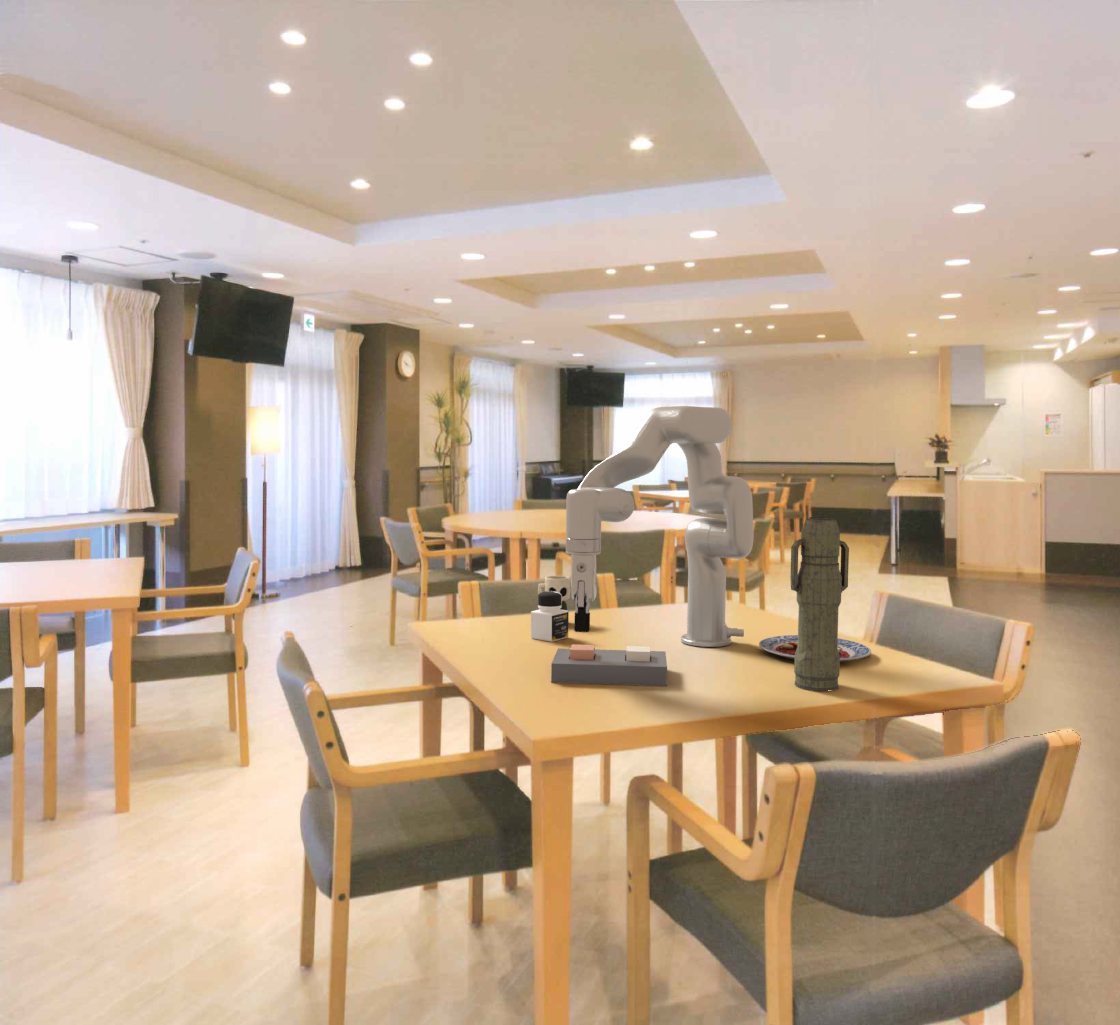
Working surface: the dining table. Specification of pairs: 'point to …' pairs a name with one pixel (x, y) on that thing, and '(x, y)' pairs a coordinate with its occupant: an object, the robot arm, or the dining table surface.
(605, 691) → the dining table surface
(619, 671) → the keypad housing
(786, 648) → the ceramic plate
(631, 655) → the ivory key
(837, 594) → the thermos
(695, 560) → the robot arm
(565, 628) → the medicine bottle
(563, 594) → the character mug
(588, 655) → the terracotta key
